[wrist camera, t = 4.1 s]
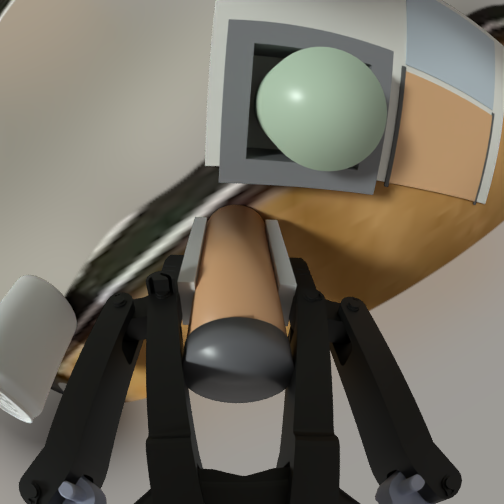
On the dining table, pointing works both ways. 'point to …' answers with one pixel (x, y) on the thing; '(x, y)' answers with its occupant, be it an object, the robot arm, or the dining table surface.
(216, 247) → the marker
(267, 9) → the board
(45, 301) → the beverage can
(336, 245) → the dining table surface
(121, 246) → the dining table surface
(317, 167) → the button
